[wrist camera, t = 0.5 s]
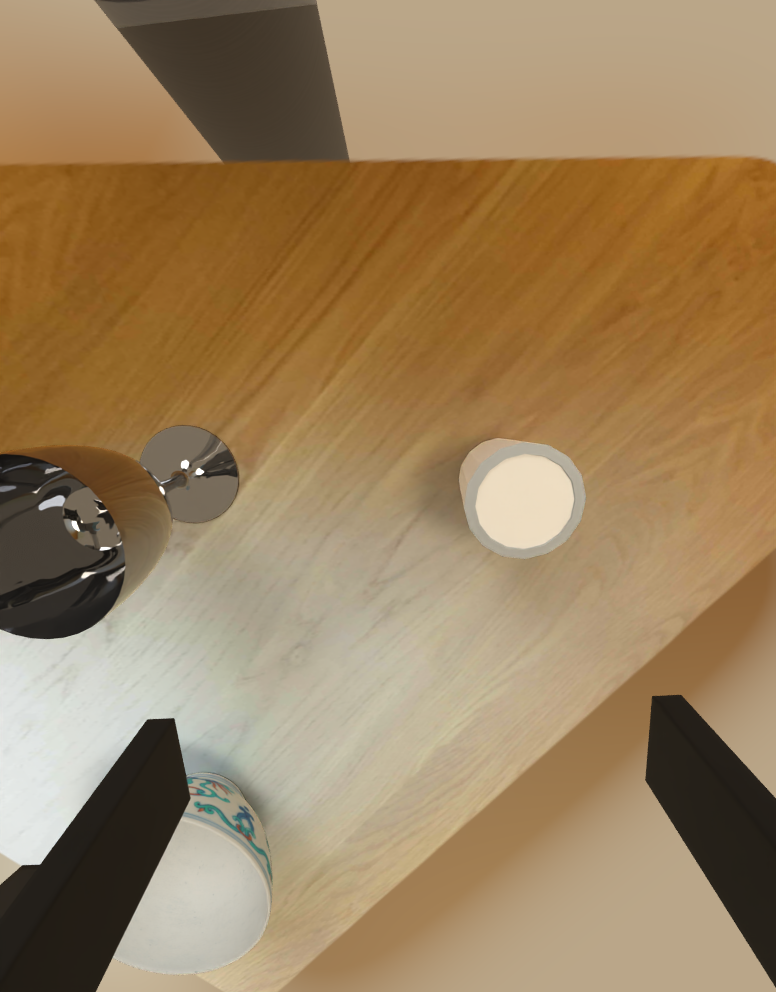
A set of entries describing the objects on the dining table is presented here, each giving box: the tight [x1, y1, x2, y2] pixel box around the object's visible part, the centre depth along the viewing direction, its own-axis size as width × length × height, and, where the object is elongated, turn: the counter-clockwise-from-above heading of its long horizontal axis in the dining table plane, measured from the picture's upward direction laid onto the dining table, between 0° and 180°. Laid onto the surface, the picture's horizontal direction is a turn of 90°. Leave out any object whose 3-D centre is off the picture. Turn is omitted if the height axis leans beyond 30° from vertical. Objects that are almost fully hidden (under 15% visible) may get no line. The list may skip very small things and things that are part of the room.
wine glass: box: [0, 425, 239, 639], centre depth 26 cm, size 8×8×15 cm
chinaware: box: [113, 773, 272, 975], centre depth 36 cm, size 15×15×8 cm
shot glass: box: [459, 438, 586, 559], centre depth 29 cm, size 7×7×7 cm
